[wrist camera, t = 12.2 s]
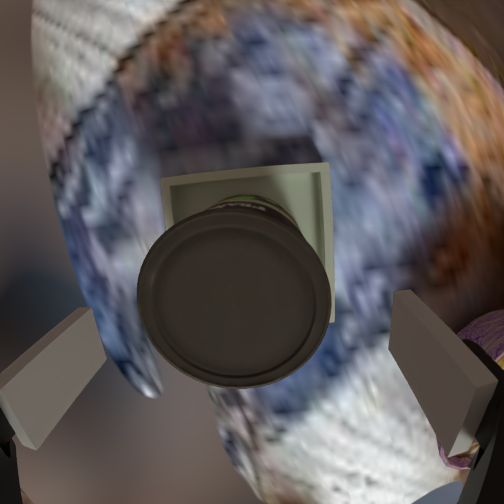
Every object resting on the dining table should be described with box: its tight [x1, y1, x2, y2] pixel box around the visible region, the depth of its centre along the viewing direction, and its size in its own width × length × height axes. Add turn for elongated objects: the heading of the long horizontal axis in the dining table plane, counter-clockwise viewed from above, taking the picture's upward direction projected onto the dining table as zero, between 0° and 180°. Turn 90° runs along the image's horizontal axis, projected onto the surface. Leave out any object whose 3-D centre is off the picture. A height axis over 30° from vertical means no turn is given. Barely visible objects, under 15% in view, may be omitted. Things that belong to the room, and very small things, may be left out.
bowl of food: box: [436, 309, 504, 470], centre depth 27 cm, size 20×20×12 cm
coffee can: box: [137, 193, 332, 389], centre depth 23 cm, size 10×10×14 cm
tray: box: [160, 162, 335, 323], centre depth 29 cm, size 14×14×3 cm
